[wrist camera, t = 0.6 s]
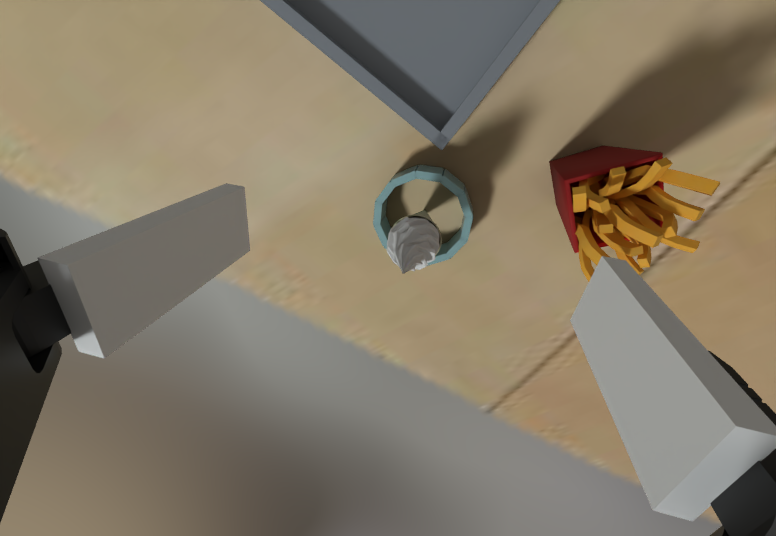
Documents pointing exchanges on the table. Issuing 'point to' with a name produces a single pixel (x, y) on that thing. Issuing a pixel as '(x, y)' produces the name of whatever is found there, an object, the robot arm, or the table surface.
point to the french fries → (622, 203)
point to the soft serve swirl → (414, 241)
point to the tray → (420, 50)
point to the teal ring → (431, 175)
